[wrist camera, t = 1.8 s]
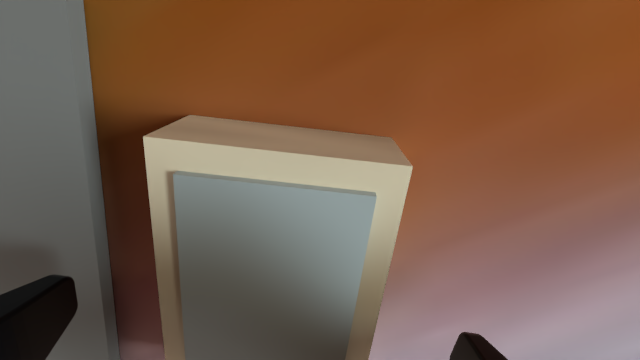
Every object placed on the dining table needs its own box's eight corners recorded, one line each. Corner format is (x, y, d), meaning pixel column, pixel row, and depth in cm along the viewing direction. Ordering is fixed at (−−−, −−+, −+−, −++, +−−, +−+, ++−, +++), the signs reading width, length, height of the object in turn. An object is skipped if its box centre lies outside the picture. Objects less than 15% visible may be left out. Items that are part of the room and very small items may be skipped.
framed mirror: (346, 356, 11) (351, 443, 9) (203, 342, 11) (167, 425, 9) (389, 134, 8) (415, 170, 6) (195, 112, 8) (136, 139, 6)
